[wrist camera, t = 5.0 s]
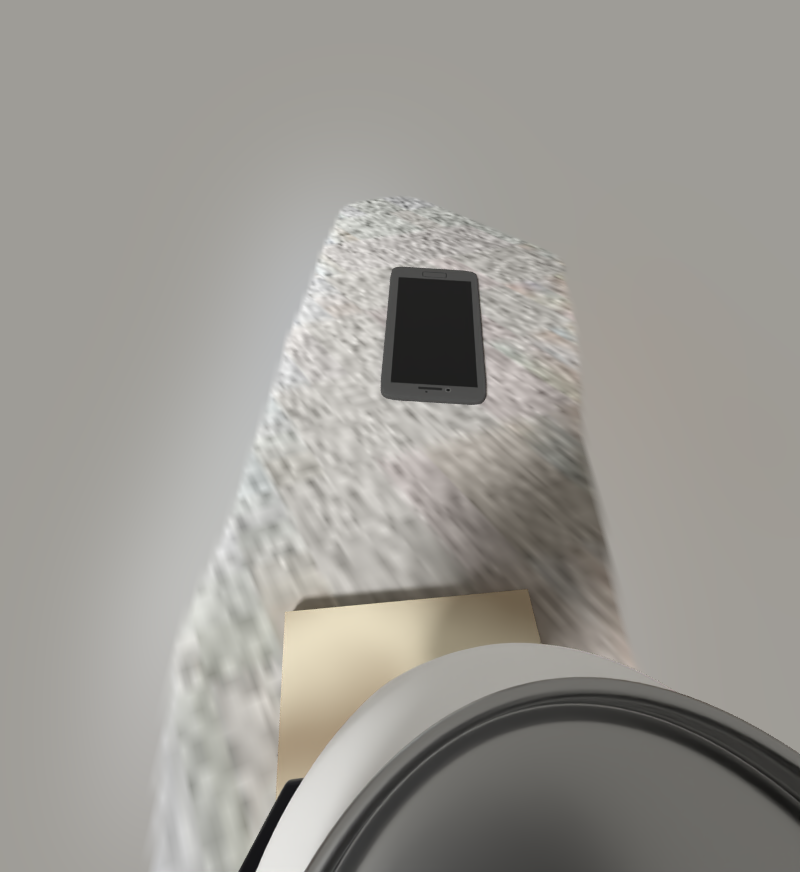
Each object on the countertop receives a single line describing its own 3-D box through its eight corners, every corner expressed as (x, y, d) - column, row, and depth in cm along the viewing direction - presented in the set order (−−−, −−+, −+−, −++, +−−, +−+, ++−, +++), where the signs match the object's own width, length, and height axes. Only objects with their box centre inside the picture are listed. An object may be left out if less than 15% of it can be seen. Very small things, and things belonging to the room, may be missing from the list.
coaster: (602, 933, 15) (616, 949, 14) (272, 989, 14) (265, 1010, 13) (521, 592, 21) (527, 588, 20) (289, 614, 20) (285, 611, 19)
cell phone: (475, 277, 35) (477, 270, 34) (485, 408, 27) (487, 402, 27) (391, 272, 35) (391, 264, 34) (379, 402, 27) (379, 395, 27)
